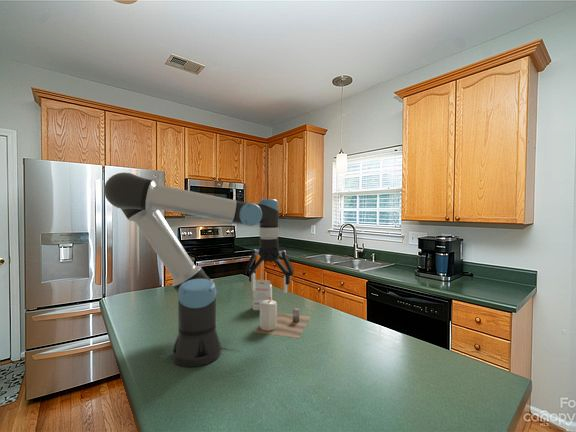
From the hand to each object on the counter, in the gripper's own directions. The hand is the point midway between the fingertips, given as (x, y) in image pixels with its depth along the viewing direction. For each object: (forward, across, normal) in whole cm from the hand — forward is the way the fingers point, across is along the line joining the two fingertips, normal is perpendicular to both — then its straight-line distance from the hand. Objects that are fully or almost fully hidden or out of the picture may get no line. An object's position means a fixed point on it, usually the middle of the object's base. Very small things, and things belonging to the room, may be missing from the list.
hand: (269, 291), depth 112 cm
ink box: (+15, +10, -19) cm, 26 cm away
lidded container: (+14, 0, 0) cm, 14 cm away
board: (+15, -5, -5) cm, 16 cm away
